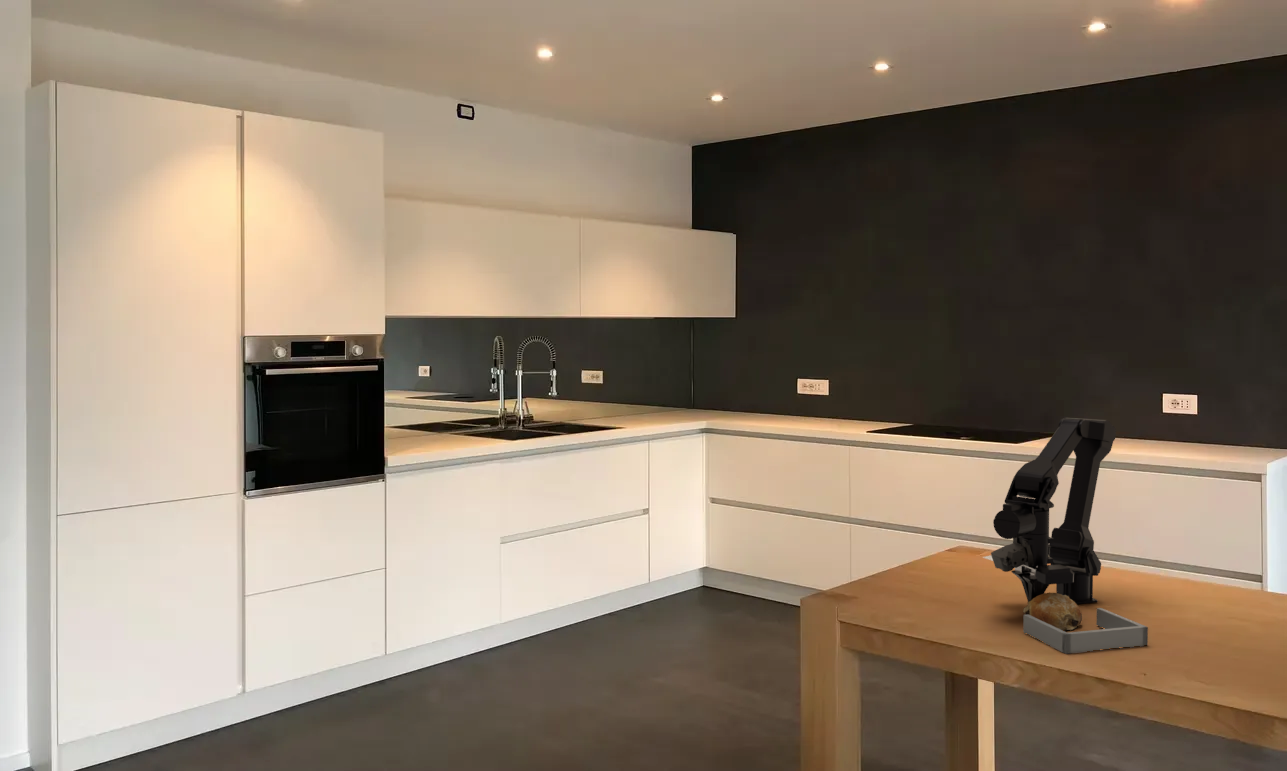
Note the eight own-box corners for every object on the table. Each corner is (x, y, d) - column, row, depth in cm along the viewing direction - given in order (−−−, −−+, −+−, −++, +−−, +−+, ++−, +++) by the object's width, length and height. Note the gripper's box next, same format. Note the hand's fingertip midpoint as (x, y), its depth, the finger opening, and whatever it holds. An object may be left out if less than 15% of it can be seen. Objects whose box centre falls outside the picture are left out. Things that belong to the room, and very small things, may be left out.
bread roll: (1052, 651, 196) (1069, 617, 193) (1010, 617, 203) (1025, 585, 200) (1080, 640, 202) (1097, 608, 199) (1038, 608, 209) (1054, 577, 206)
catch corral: (1100, 625, 200) (1101, 607, 200) (1147, 645, 187) (1147, 627, 187) (1023, 632, 196) (1023, 614, 196) (1065, 653, 183) (1065, 634, 183)
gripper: (973, 524, 214) (972, 598, 215) (1024, 544, 195) (1023, 624, 196) (1021, 521, 216) (1020, 594, 217) (1076, 540, 198) (1074, 619, 199)
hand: (1032, 607), depth 207 cm, fingers closed
